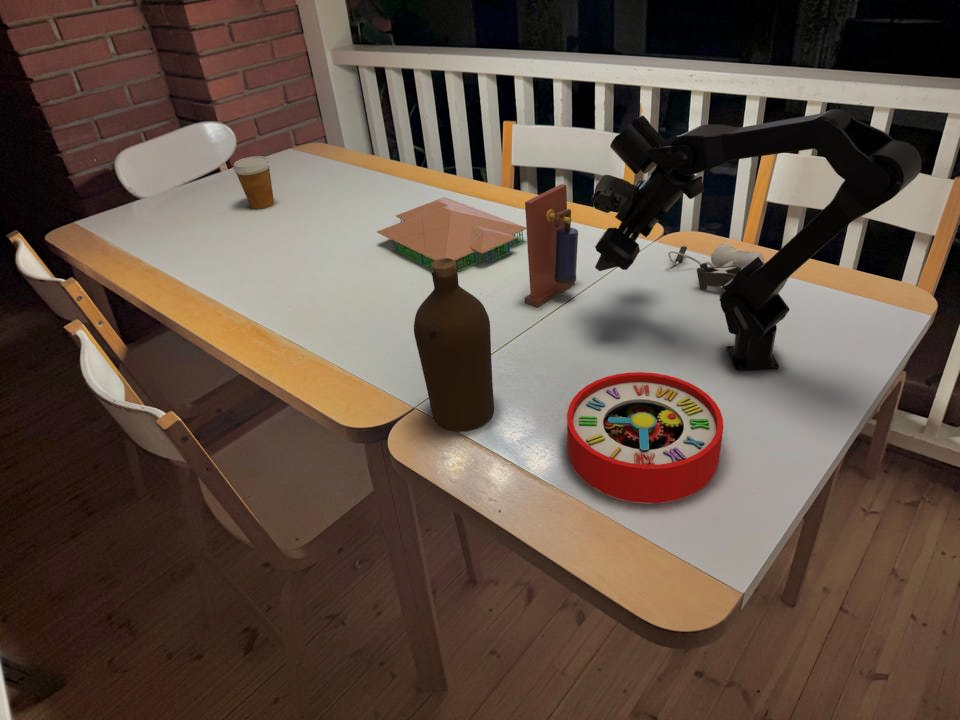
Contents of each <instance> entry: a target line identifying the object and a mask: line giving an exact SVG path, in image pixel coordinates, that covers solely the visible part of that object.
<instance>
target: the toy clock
mask: <svg viewBox="0 0 960 720" xmlns="http://www.w3.org/2000/svg"><path fill="white" fill-rule="evenodd" d="M571 399H572V400H571V401H570V403H569V405H568V408H567V412H566V428H567V429H566V432H567V433H566V435H567V457H568V459H569V462H570V466H571V467H572V468H573V470H574V472H575V474H576V475H577V476H578V477H579V478H580V480H582V481H583V482H585V483H586V484H587V485H588V486H590V487H591V488H592V489H594V490H596V491H597V492H599V493H601V494H603V495H606V496H608V497H611V498H614V499H615V500H621V501H624V502H629V503H634V504H635V503H636V504H643V505H644V504H645V505H646V504H665V503H671V502H674V501H679V500H681V499H685V498H688V497H689V496H692V495H693V494H696V493H698V492H699V491H701V490H702V489H704V488H705V487H706V486H707V485H708V484H709V483H710V482H711V481H712V479H713V478H714V476H715V475H716V472H717V471H718V466H719V464H720V463H719V462H720V457H721V456H720V455H721V449H722V441H723V433H724V418H723V414H722V412H721V409H720V408H719V406H718V404H717V403H716V401H715V400H714V399H713V398H712V397H711V396H710V395H709V394H708V393H707V392H705V391H704V390H702V389H701V388H700V387H698V386H697V385H694V384H693V383H691V382H688V381H686V380H684V379H681V378H678V377H675V376H672V375H668V374H663V373H662V374H661V373H657V372H645V371H644V372H643V371H635V372H633V371H631V372H621V373H616V374H613V375H612V374H611V375H608V376H604V377H602V378H599V379H596V380H595V381H592V382H591V383H589V384H586V385H585V386H584V387H583V388H582V389H580V390H579V391H578V392H577V393H576V394H575V395H574V397H573V398H571Z"/></svg>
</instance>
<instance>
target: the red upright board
mask: <svg viewBox="0 0 960 720" xmlns="http://www.w3.org/2000/svg"><path fill="white" fill-rule="evenodd" d="M567 189H568V187H567V184H563V183H560V184H559V185H556V186H555V187H552V188H550V189H548V190H546V191H545V192H543V193H540V194H538V195H536V196H534V197H532V198H530V199H528V200H526V201H525V202H524V207H525V227H526V228H527V229H526V242H527V243H526V244H527V260H528V261H527V262H528V273H529V275H528V276H529V294H528V295H526V296H524V304H528V305H530V306H532V307H535V308H539V307H541V306H543V305H544V304H546V303H547V302H549V301H550V300H552V299H553V298H555V297H556V296H558V295H560V294H561V293H563V292H565V291H566V290H568V289H569V288H572V287H573V286H574V285H575V284H576V281H575V282H573V283H569V284H563V283H558V282H556V281H555V267H556V240H557V230H558V229H560V228H565V223H568V224H570V223H571V224H572V221H573V220H572V219H573V218H572V217H571V218H569V217H565V216H563V217H561V218H560V226H559V227H555V226H554V217H555V213H557V212H560V211H563V210H566V209H568V198H567V197H568V195H567V192H568V190H567Z"/></svg>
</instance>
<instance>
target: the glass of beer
mask: <svg viewBox="0 0 960 720" xmlns="http://www.w3.org/2000/svg"><path fill="white" fill-rule="evenodd" d="M270 166H271V162H270V161H269V159H268V157H266V156H264V155H263V156H262V155H254V156H253V155H252V156H247V157H244V158H241V159H238V160H236V161H234V163H233V170H232V171H233V172H234V173H235V174H236V176H237V179H238V181H239V183H240V185H241V187H242V190H243V193H244V194H245V197H246V199H247V201H248V204H249V206H250V208H251V209H254V210H262V209H263V210H264V209H267V208H269V207H271V206H273V205H274V204H275V199H274V191H273V185H272V178H271V170H270Z"/></svg>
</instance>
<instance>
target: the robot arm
mask: <svg viewBox="0 0 960 720" xmlns="http://www.w3.org/2000/svg"><path fill="white" fill-rule="evenodd" d="M609 147H610V149H611V150H612V151H613V153H615V154H616V155H617V157H618V158H619V159H620V160H621V161H622V162H623V164H625V165H626V166H627V167H628V168H629V169H630V171H631V172H632V173H633V174H634V175H638V174H639V173H640V172H642V174H644V175H645V174H647V173H649V172H650V171H652V169H653V171H652V172H651V173H650V174H649V176H647V178H646V179H643V180H637V182H636V183H635V184H633V183H631V182H630V181H628V180H626V179H623V178H620V177H616V176H613V175H610V174H604V175H602V177H601V178H600V179H599V181H598V182H597V183H596V185H595V188H594V192H593V195H592V196H591V197H590V200H591V203H592V205H593V208H594V209H595V210H597V211H600V212H603V213H605V214H609V213H611V212H614V213H616V215H615V216H614V217H615V219H617V220H618V221H619V222H620V224H619V225H618V228H617V227H608V228H607V229H606V230H605V232H603V234H602V235H601V237H599V240H598V242H597V243H596V244H595V246H594V248H595V251H596V252H598V254H600V255H599V257H598V260H597V262H596V264H595V267H594V268H595V269H596V270H597V271H598V272H603V271H606V270H610V269H614V268H619V269H621V270H622V271H627V270H628V269H629V268H630V267H631V266H632V265H633V264H634V262H635V261H636V260H637V257H638V256H639V253H640V252H641V248H640V244H639V243H638V242H636V241H637V240H638V238H639V236H640V235H642V237H645V238H648V236H649V235H650V234H651V232H652V230H653V229H654V227H655V226H656V225H657V224H658V223H659V222H662V221H663V220H664V219H665V218H666V216H667V214H668V212H669V210H670V209H671V208H672V207H673V206H674V205H675V204H676V203H677V202H678V200H679V199H680V198H681V197H682V196H683V195H685V196H686V197H687V198H688V200H692V199H694V198H696V197H697V196H699V195H701V194H702V193H704V192H705V185H704V183H703V176H702V175H696V174H700V173H703V172H705V171H708V170H711V169H713V168H715V167H718V166H721V165H723V164H726V163H729V162H732V161H736V160H737V161H738V160H743V159H750V158H757V157H765V156H772V155H778V154H779V155H780V154H786V153H795V152H801V151H808V150H815V151H816V152H818V153H820V154H821V155H822V156H823V157H824V158H825V160H826V162H827V163H828V164H829V165H830V167H831V169H832V170H833V171H834V172H835V174H837V175H838V176H839V177H840V178H841V179H843V182H842V183H841V184H840V185H839V186H840V187H839V188H838V189H837V191H836V193H835V195H834V196H833V198H832V200H831V201H830V202H829V203H828V204H827V205H826V206H825V207H824V208H823V209H822V210H820V212H819V213H817V215H816V216H815V217H813V218H812V219H811V220H810V221H809V222H808V223H807V224H806V225H804V227H803V228H802V229H800V231H798V232H797V233H796V234H795V235H794V236H793V237H792V238H791V239H790V240H789V241H787V243H785V245H784V246H782V247H781V248H780V249H779V250H778V251H776V253H775V254H774V255H773V256H772V257H771V258H770V259H769V260H767V261H764V263H763V262H762V261H761V260H760V258H759V257H757V258H755V259H754V260H753V261H751V262H750V263H749V264H748V265H746V266H745V267H744V268H742V269H741V270H740V271H739V272H738V273H737V274H736V275H735V277H734V278H733V279H732V280H730V281H729V282H728V283H726V284H725V285H724V286H723V287H722V286H721V289H722V290H723V292H721V295H720V296H719V303H720V307H721V310H722V312H723V313H724V316H725V321H726V325H727V330H728V333H730V334H731V335H735V336H734V341H733V342H734V343H733V345H727V346H726V347H725V351H726V353H727V355H728V357H729V359H730V362H731V364H732V366H733V368H734V370H735V371H736V372H751V371H768V370H770V371H771V370H779V368H780V365H779V362H778V361H777V359H776V357H775V355H774V353H773V352H774V347H775V341H776V335H777V329H778V326H777V325H778V324H779V323H780V322H781V321H783V320H784V319H785V317H786V316H787V315H788V313H789V312H790V307H789V306H788V305H787V303H786V302H785V301H784V299H783V298H782V296H781V295H780V294H779V293H780V292H781V291H782V290H783V288H784V286H785V285H786V283H787V281H788V280H789V278H790V277H791V276H792V275H793V274H794V273H795V272H796V271H798V269H800V268H801V267H802V266H803V265H804V264H805V263H807V262H808V261H809V260H810V259H811V258H812V257H813V256H814V255H816V254H817V253H818V252H819V251H820V250H822V249H823V247H825V246H826V245H827V244H828V243H830V242H831V241H832V240H833V239H834V238H835V237H836V236H837V235H838V234H839V233H841V232H842V231H843V230H845V228H846V227H848V226H849V225H850V224H851V223H852V222H855V220H858V219H860V218H861V217H863V216H865V215H867V214H869V213H872V211H874V210H875V209H878V208H879V207H880V206H882V205H884V204H886V203H887V202H889V201H890V200H892V199H894V198H895V197H896V196H897V195H899V193H900V192H902V191H903V190H904V189H905V188H906V187H907V186H908V185H910V184H911V183H912V182H913V181H914V180H915V179H916V178H917V177H918V175H920V173H921V170H922V157H921V154H920V152H919V150H917V148H916V147H915V146H913V145H912V144H911V143H909V142H907V141H902V140H896V139H895V138H893V137H892V136H891V135H889V134H888V133H886V132H885V131H883V130H881V129H880V128H876V127H874V126H872V125H869V124H867V123H865V122H862V121H860V120H858V119H857V118H855V117H854V116H853V115H851V114H850V113H848V112H847V111H845V110H842V109H839V108H833V109H829V110H828V111H825V112H822V113H815V114H810V115H805V116H799V117H793V118H792V117H791V118H787V119H781V120H775V121H770V122H764V123H759V124H753V125H747V126H731V125H728V124H701V125H698V126H695V127H694V128H692V129H690V130H688V131H686V132H684V133H682V134H680V135H674V136H672V137H670V138H668V139H664V137H663V136H662V135H661V134H660V133H659V132H658V131H657V130H656V129H655V127H653V126H652V124H651V123H650V121H649V119H648V118H647V117H646V116H644V114H643V115H640V116H638V117H636V118H634V119H633V120H632V122H631V123H630V124H629V125H627V126H626V127H625V128H624V129H623V130H622V131H621V132H620V133H619V134H617V135H616V136H614V138H613V139H612V141H611V143H610V145H609Z"/></svg>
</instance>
